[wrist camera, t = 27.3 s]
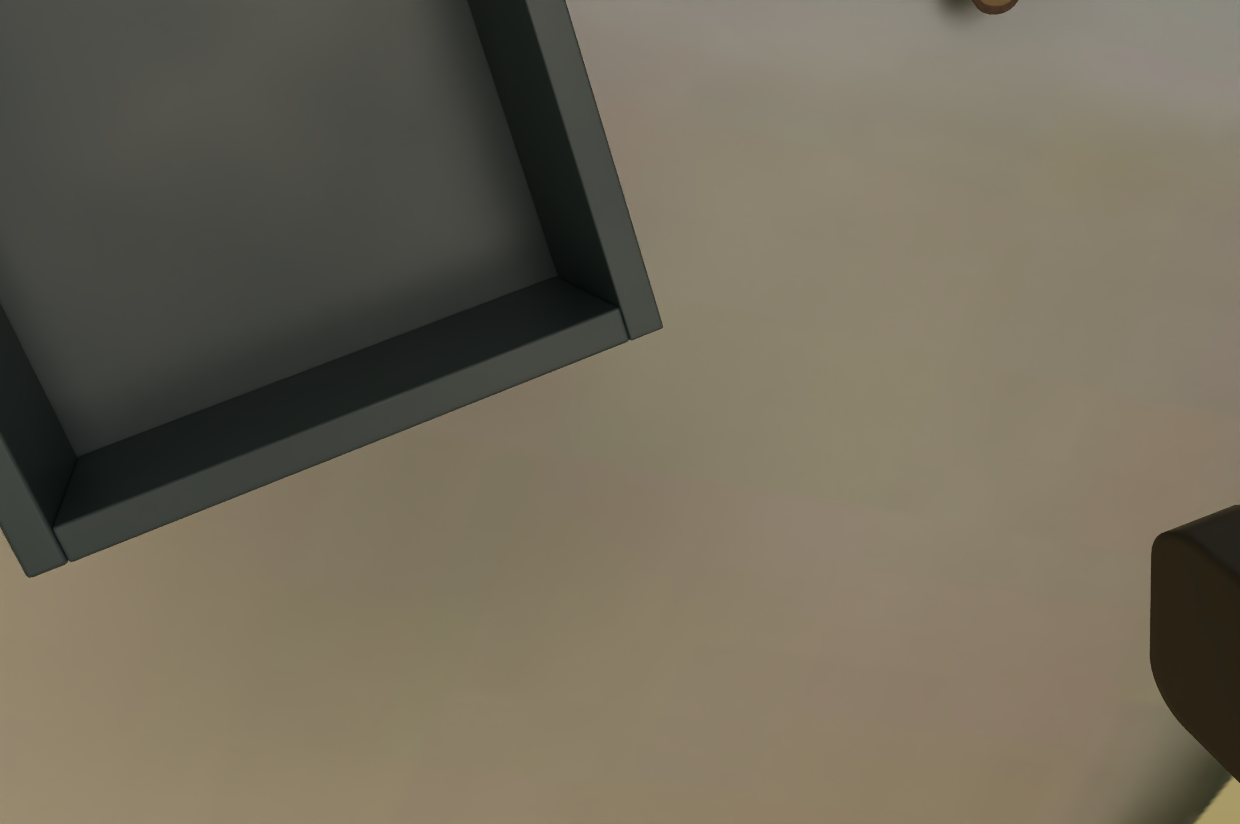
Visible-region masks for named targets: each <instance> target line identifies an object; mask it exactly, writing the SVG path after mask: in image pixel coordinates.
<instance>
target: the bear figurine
mask: <svg viewBox="0 0 1240 824" xmlns="http://www.w3.org/2000/svg"><path fill="white" fill-rule="evenodd" d="M1017 1H1018V0H972V2H973V3H974V5H975V6H976V7H977V8H978V9H979V10H980V11H982V12H984V13H987V14H1001V13H1004V12H1006V11H1008V10H1010V9H1011V8H1012V7H1013V6H1014V5H1015V4H1016V3H1017Z"/></svg>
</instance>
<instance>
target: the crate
mask: <svg viewBox="0 0 1240 824" xmlns="http://www.w3.org/2000/svg"><path fill="white" fill-rule="evenodd" d="M661 328H663V325H662V321H661V318H660V315H659V311H658V308H657V305H656V301H655V298H654V295H653V291H652V288H651V285H650V281H649V278H648V275H647V271H646V268H645V265H644V261H643V258H642V255H641V251H640V248H639V245H638V241H637V238H636V235H635V231H634V228H633V225H632V221H631V218H630V215H629V211H628V208H627V205H626V201H625V198H624V195H623V191H622V188H621V185H620V181H619V178H618V175H617V171H616V168H615V165H614V161H613V158H612V155H611V151H610V148H609V145H608V141H607V138H606V135H605V131H604V128H603V125H602V121H601V118H600V115H599V111H598V108H597V105H596V101H595V98H594V95H593V92H592V88H591V85H590V82H589V78H588V75H587V72H586V68H585V65H584V62H583V58H582V55H581V52H580V48H579V45H578V42H577V38H576V35H575V32H574V28H573V25H572V22H571V18H570V15H569V12H568V8H567V5H566V2H565V0H0V528H1V530H2V531H3V533H4V535H5V537H6V539H7V541H8V543H9V545H10V546H11V548H12V550H13V552H14V554H15V556H16V558H17V559H18V561H19V563H20V565H21V567H22V569H23V571H24V573H25V574H26V576H28V577H29V578H30V577H35V576H37V575H40V574H42V573H45V572H47V571H50V570H52V569H55V568H57V567H60V566H63V565H65V564H66V563H67V562H68V560H69V561H70V562H74V561H76V560H79V559H81V558H84V557H86V556H89V555H91V554H94V553H96V552H99V551H101V550H104V549H106V548H109V547H111V546H114V545H116V544H119V543H121V542H124V541H126V540H129V539H131V538H134V537H137V536H139V535H142V534H144V533H147V532H149V531H152V530H154V529H157V528H159V527H162V526H164V525H167V524H169V523H172V522H174V521H177V520H179V519H182V518H184V517H187V516H189V515H192V514H194V513H197V512H200V511H202V510H205V509H207V508H210V507H212V506H215V505H217V504H220V503H222V502H225V501H227V500H230V499H232V498H235V497H237V496H240V495H242V494H245V493H247V492H250V491H252V490H255V489H257V488H260V487H262V486H265V485H268V484H270V483H273V482H275V481H278V480H280V479H283V478H285V477H288V476H290V475H293V474H295V473H298V472H300V471H303V470H305V469H308V468H310V467H313V466H315V465H318V464H320V463H323V462H325V461H328V460H331V459H333V458H336V457H338V456H341V455H343V454H346V453H348V452H351V451H353V450H356V449H358V448H361V447H363V446H366V445H368V444H371V443H373V442H376V441H378V440H381V439H383V438H386V437H388V436H391V435H394V434H396V433H399V432H401V431H404V430H406V429H409V428H411V427H414V426H416V425H419V424H421V423H424V422H426V421H429V420H431V419H434V418H436V417H439V416H441V415H444V414H446V413H449V412H451V411H454V410H456V409H459V408H462V407H464V406H467V405H469V404H472V403H474V402H477V401H479V400H482V399H484V398H487V397H489V396H492V395H494V394H497V393H499V392H502V391H504V390H507V389H509V388H512V387H514V386H517V385H519V384H522V383H525V382H527V381H530V380H532V379H535V378H537V377H540V376H542V375H545V374H547V373H550V372H552V371H555V370H557V369H560V368H562V367H565V366H567V365H570V364H572V363H575V362H577V361H580V360H582V359H585V358H588V357H590V356H593V355H595V354H598V353H600V352H603V351H605V350H608V349H610V348H613V347H615V346H618V345H620V344H623V343H625V342H627V341H628V340H634V339H636V338H639V337H641V336H644V335H646V334H649V333H651V332H654V331H656V330H659V329H661Z"/></svg>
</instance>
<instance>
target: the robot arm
mask: <svg viewBox="0 0 1240 824" xmlns="http://www.w3.org/2000/svg"><path fill="white" fill-rule="evenodd" d="M1150 663H1151V668H1152V672H1153V676H1154V679H1155V682H1156V684H1157V687H1158V689H1159V691H1160V693H1161V695H1162V697H1163V699H1164V701H1165V703H1166V704H1167V706H1168V708H1169V709H1170V711H1171V712H1172V714H1173V715H1174V716H1175V717H1176V719H1177V720H1178V721H1179V722H1180V723H1181V725H1182V726H1183V727H1184V728H1185V729H1186V730H1187V731H1188V732H1189V733H1190V734H1191V735H1192V736H1193V737H1194V738H1195V739H1196V740H1197V741H1198V742H1199V743H1200V744H1201V745H1202V746H1203V747H1204V748H1205V749H1206V750H1207V751H1208V752H1209V753H1210V754H1211V755H1212V756H1213V757H1214V758H1215V759H1216V760H1217V761H1218V762H1219V763H1220V764H1221V765H1222V766H1223V767H1224V768H1225V769H1226V770H1227V771H1228V772H1229V773H1230V774H1231V775H1232V776H1233V777H1234V778H1235V779H1236V780H1237V781H1238V782H1239V783H1240V505H1234V506H1231V507H1229V508H1226V509H1223V510H1221V511H1218V512H1216V513H1213V514H1210V515H1208V516H1205V517H1203V518H1200V519H1197V520H1195V521H1192V522H1190V523H1187V524H1185V525H1182V526H1179V527H1177V528H1174V529H1172V530H1169V531H1166V532H1164V533H1161V534H1160V535H1159V536H1157V537H1156V539H1155V541H1154V543H1153V546H1152V553H1151V609H1150Z"/></svg>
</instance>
